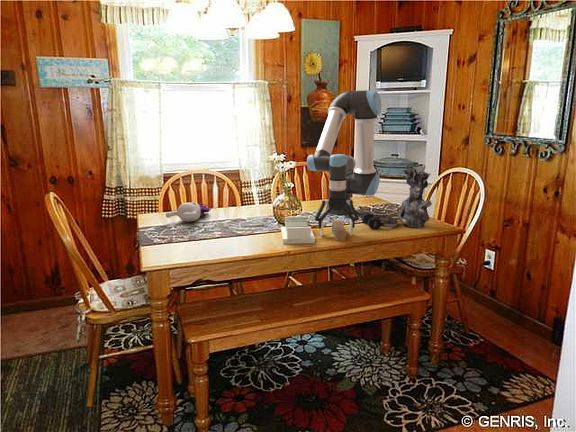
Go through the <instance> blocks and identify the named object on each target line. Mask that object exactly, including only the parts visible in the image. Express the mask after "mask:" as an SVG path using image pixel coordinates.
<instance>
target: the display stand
mask: <svg viewBox="0 0 576 432" xmlns="http://www.w3.org/2000/svg"><path fill="white" fill-rule="evenodd" d="M307 218H308V217H307V216H305V215H304V216H296V215H295V216H285V217H284V220H285V221H284V223H285V224H284V225H285V226H281V227H280V232H281V240H282V244H283V245H284V244H285V245H287V244H291V245H293V244H316V237H315V235H314V232H313V230H312V227H311V226H310V225H308V219H307Z"/></svg>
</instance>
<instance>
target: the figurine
mask: <svg viewBox="0 0 576 432" xmlns="http://www.w3.org/2000/svg"><path fill="white" fill-rule="evenodd" d="M207 205H208V204H207V203H196V202H183V203H181V204H180V205H179V206H178V208H177V210H176V211H167V212H166V213H165V217H166V218H167V219H169V218H171V217H174V216H177V217H178V218H179V219H180V220H182V221H184V222H186V223H187V222H188V223H189V222H194V221H197V220H199V218H200V216H202V217H203V216H206V215H208V214H209V212H210V211H211V210H212V208H211V206H208V207H207Z"/></svg>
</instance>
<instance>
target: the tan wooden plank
mask: <svg viewBox="0 0 576 432" xmlns="http://www.w3.org/2000/svg"><path fill="white" fill-rule="evenodd" d="M331 232H332V234H333V236H334V238H335V240H336V241H346V240H347V239H346V237H347V229H346V228H345V227H344V224H343V223H342V222H341V220H331Z"/></svg>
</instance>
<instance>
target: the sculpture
mask: <svg viewBox="0 0 576 432" xmlns="http://www.w3.org/2000/svg"><path fill="white" fill-rule="evenodd" d="M409 166H410V165H409V164H405V165H404V167H405V169H403V172H404V173H405V179H406V184H407V185H408V186H409V195H408V196H409V197H407V198H406V199H405V200H403V201H402V203H401V207H400V210H399V212H398V215H397V219H398V220H399V221H400V222H401V225H402V226H403V227H409V228H414V229H421V228H424V227H425V224H427V222H428V221H429V220H430V215H429V213H428V208H429V207H431V206H432V205H433V204H432V203H433V202H431V200H425V199H423V196H424V191H425V189H427V188H428V185H429V182H428V179H429V177H430V176H431V174H432V173H431V172H430V173H429V172H426V171H424V170H425V169H426V165H424V166H422V165H421V166H420V170H419V172H418V171H417V170H416V167H417V166H416V165H415V166H413V165H412V168H411V167H409Z"/></svg>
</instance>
